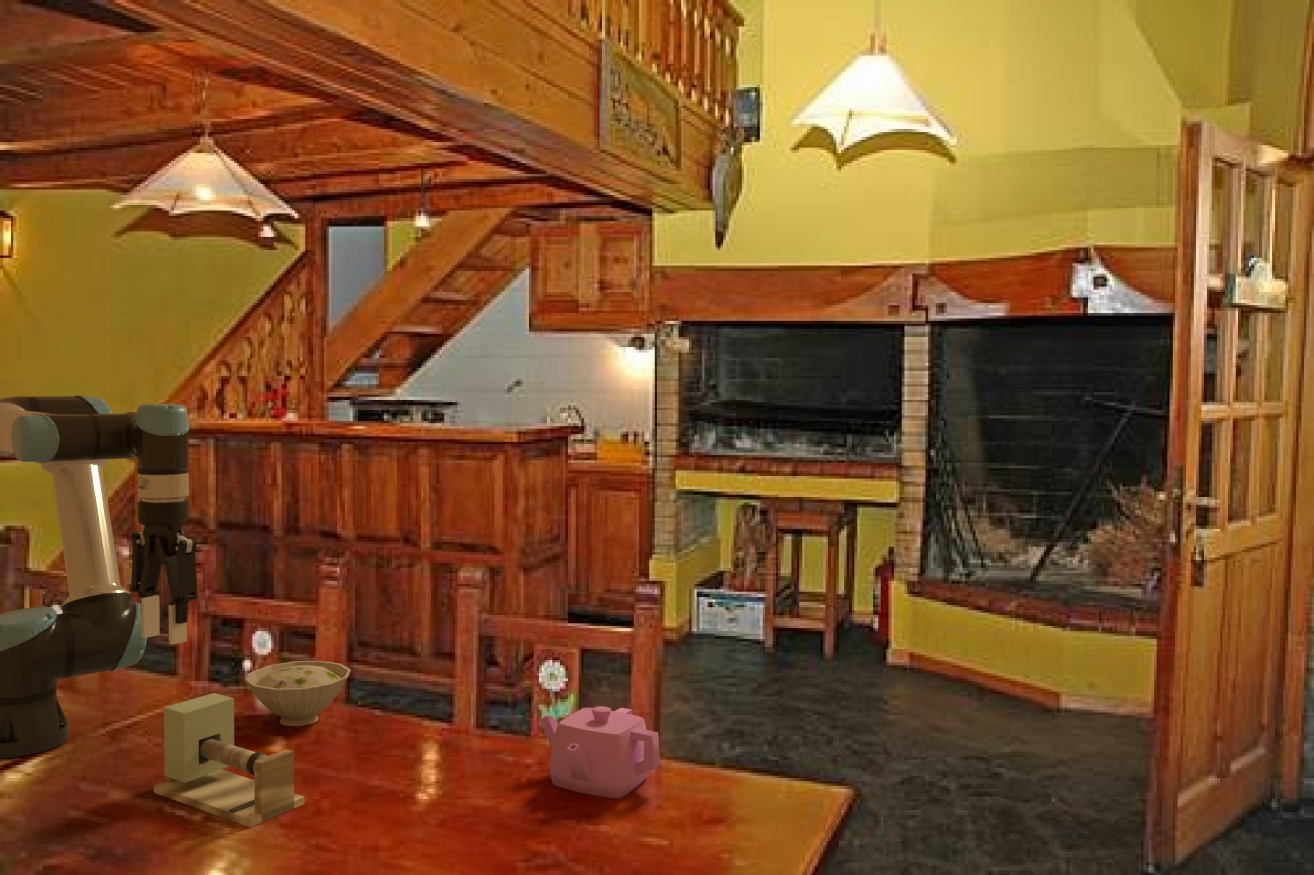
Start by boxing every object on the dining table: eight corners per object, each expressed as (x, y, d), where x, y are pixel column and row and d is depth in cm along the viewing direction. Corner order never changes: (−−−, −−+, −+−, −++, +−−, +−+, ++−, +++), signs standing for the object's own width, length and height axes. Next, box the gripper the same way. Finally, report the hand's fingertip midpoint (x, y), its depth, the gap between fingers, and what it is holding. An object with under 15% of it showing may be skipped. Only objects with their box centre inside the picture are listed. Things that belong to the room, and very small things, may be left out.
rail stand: (153, 792, 165) (153, 736, 165) (209, 772, 174) (208, 719, 173) (250, 827, 154) (250, 767, 153) (304, 804, 162) (304, 747, 162)
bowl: (311, 697, 214) (311, 649, 213) (372, 717, 203) (372, 667, 202) (224, 722, 198) (224, 670, 198) (285, 745, 187) (285, 690, 187)
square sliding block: (164, 775, 165) (164, 707, 164) (214, 758, 172) (214, 692, 172) (184, 782, 162) (184, 713, 161) (234, 764, 170) (234, 698, 169)
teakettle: (665, 794, 170) (667, 719, 169) (564, 807, 164) (566, 730, 163) (630, 757, 186) (631, 689, 185) (537, 768, 180) (538, 697, 179)
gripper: (105, 496, 171) (106, 635, 172) (180, 506, 161) (181, 653, 162) (147, 492, 177) (148, 626, 179) (222, 501, 167) (222, 643, 169)
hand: (164, 639), depth 170 cm, fingers open, 6 cm apart
